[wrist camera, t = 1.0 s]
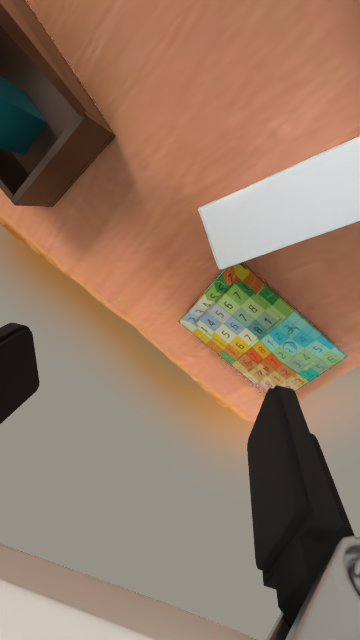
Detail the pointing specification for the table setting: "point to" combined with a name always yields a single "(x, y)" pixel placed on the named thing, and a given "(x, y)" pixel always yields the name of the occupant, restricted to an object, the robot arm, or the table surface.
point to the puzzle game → (259, 332)
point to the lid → (36, 51)
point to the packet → (18, 119)
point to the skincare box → (286, 207)
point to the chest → (48, 125)
